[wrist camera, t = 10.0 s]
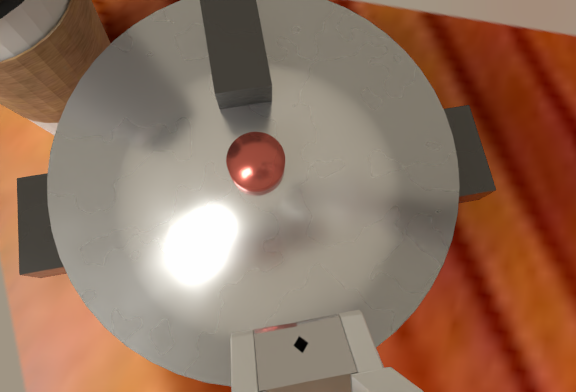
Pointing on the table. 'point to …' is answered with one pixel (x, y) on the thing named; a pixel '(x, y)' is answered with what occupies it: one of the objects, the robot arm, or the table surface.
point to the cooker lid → (250, 178)
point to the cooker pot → (46, 262)
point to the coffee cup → (46, 55)
